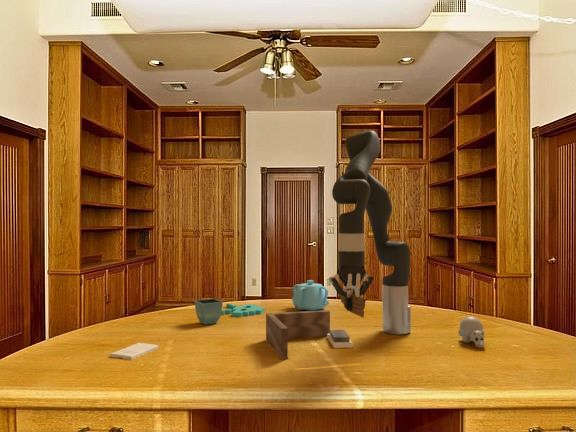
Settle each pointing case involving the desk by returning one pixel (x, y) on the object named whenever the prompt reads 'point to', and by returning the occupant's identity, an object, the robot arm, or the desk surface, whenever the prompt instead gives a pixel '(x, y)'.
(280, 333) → the walnut rack
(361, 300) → the wood plank
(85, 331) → the desk surface
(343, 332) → the grey rectangular block
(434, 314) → the desk surface
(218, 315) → the flower pot
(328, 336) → the white offcut
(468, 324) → the grey animal figurine
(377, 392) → the desk surface
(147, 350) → the external hard drive
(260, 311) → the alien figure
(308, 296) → the decorative pot
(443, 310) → the desk surface
